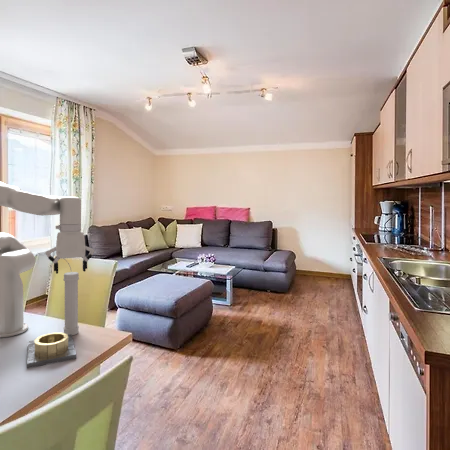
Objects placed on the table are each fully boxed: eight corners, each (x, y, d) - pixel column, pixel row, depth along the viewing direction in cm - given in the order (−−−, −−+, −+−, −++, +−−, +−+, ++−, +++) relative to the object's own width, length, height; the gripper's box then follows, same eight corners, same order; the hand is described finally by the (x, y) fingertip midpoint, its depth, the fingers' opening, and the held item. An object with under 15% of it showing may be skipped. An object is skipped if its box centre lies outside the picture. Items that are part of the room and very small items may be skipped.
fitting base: (28, 345, 115) (28, 330, 115) (71, 337, 122) (71, 324, 122) (27, 368, 99) (26, 351, 99) (76, 358, 107) (76, 342, 106)
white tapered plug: (72, 336, 123) (72, 260, 121) (58, 335, 124) (58, 259, 122) (81, 331, 128) (82, 258, 126) (68, 329, 130) (68, 257, 128)
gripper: (45, 229, 116) (45, 275, 117) (95, 229, 125) (95, 271, 126) (45, 228, 122) (45, 271, 123) (93, 227, 131) (93, 268, 132)
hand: (70, 271), depth 125 cm, fingers open, 9 cm apart
